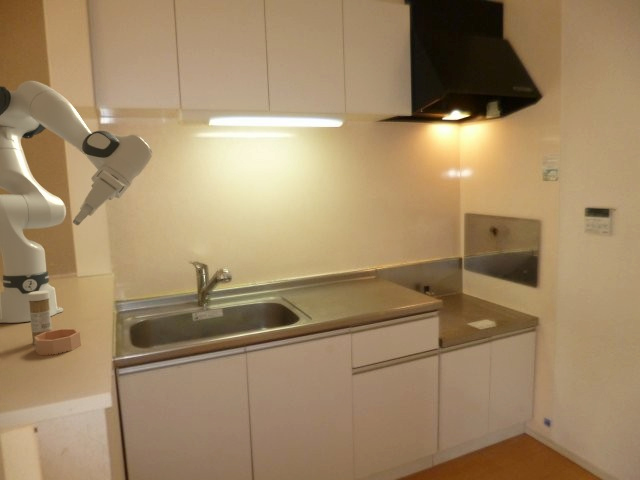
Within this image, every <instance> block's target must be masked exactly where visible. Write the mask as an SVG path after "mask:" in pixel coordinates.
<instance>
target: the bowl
mask: <svg viewBox="0 0 640 480" xmlns="http://www.w3.org/2000/svg"><path fill="white" fill-rule="evenodd" d="M34 342H35V344H34V350H35V352H36V354H37V355H38V356H39V355H41V356H42V355H45V356H49V355H50V356H53V354H55V355H58V353H59V354H62V352H63V353H67V352H66V351H68V352H72V351H73V349H74V350H75V349H77V348H78V347H80V346H81V345H82V344H81V343H82V342H81V331H80V330H78V329H77V328H57V329H55V330H54V329H53V330H51V331H48V332H44V333H42V334H39V335H37V336H35V337H34ZM48 354H49V355H48ZM51 354H52V355H51Z"/></svg>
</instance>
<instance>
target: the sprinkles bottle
mask: <svg viewBox="0 0 640 480" xmlns="http://www.w3.org/2000/svg"><path fill="white" fill-rule="evenodd" d="M28 300H29V304H30V318H31V321H30V327H31V330H30V331H31V334H32V342H31V343H32V345H35V342H34V337H35V336H37V335H39V334H42V333H44V332H48V331H52V318H51V317H52V316H50V308H49V291H45V290H44V291H34V292H30V293H28Z"/></svg>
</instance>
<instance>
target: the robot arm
mask: <svg viewBox="0 0 640 480" xmlns="http://www.w3.org/2000/svg"><path fill="white" fill-rule="evenodd" d="M84 121H85V120H83V119H82V117H81V116H80V114H79V113H78V111H77V110H76V108H75V107H74V106H73V105H72V103H71V102H70V101H69V100H68V99H67V98H66V97H64V96H63V95H62V94H61V93H60V92H58V91H56V90H55V89H53V88H52V87H50V86H49V85H47V84H44V83H42V82H39V81H37V80H27V81H26V80H25V81H23V82H22V83H20V84H19V85H18V86H17V88H16V89H15V90H9V89H7V88H6V87H5V86H1V85H0V189H1V190H3V191H6V192H7V193H8V194H7V193H3V194H2V193H1V194H0V254H1V258H2V259H1V260H2V267H3V275H2V279H1V280H2V287H3V290H2V292H0V323H5V324H6V323H8V324H12V323H13V324H15V323H24V322H25V323H26V322H31V318H30V304H29V300H28V293H30V292H34V291H44V290H45V291H49V308H50V317H52V316H54V315H57V314H59V313H63V312H64V308H63V307H60V306H58V303H57V293H56V289H55V287H53V286H52V285H50V283H49V282H50V274H49V271H47V262H46V251H45V249H44V247H43V246H42V244H40V243H39V242H36V241H34V240H31V239H28V238H27V236H25V234H24V230H30V229H31V230H32V229H46V228H49V227H50V228H52V227H55V226H58V225H61V224H62V223H63V222H64V220H65V219H66V216H67V207H66V204H65V202H64V201H63V200H62V198H60V197H59V196H56V195H55V194H53V193H51V192H49V191H48V190H47V189H45V188H44V187H43V186H41V184H39V182H38V181H37V180H36V179H35V177H34V176H33V173H32V172H31V169H30V166H29V164H28V162H27V158H26V155H25V152H24V149H23V147H22V143H21V141H22V138H23V139H26V140H27V139H32V138H33V137H34V136H36V135H39V134H42V132H43V131H45V130H46V129H47V130H48V131H50V132H52V134H54V135H56V136H58V138H61V139H62V140H64V141H65V142H67V143H68V144H71V145H72V146H73V147H75V148H76V149H77V150H78V151H79V152H81V153H82V154H83V155H85V156H86V158H87V159H88V160H89V161H90V163H91V164H92V165H94V167H95V168H96V169H97V171H96V172H95V173H94V174H93V176H91V180H92V182H93V183H92V184H91V189H90V191H89V192H88V194H87V195H86V197H85V199H84V200H83V203H82V204H81V205H80V208H79V209H80V211H79V212H78V213H77V215H76V216H75V217H74V219H73V220H72V223H73V224H74V225H75V226H80V224H81V223H82V222H83V221H84V220H85V219H87V217H88V216H89V217H90V216H92V215H93V214H95V213H96V211H98V209H99V208H100V207H102V205H104V204H105V203H106V201H108V200H110V201H112V200H113V199H114V198H116V199H120V198H121V197H122V196H123V194H124V193H126V191H127V190H128V189H129V187H130V186H131V185H132V182H133V180H135V178H136V177H137V176H139V175H140V174H141V173H142V172H143V170H145V169H146V167H147V165H148V164H149V162H150V161H151V158H152V156H153V151H152V149H151V147H150V146H149V144H148V143H147V142H146V141H145V140H144V138H142V137H141V136H139V135H138V134H134V133H133V134H129V135H120V134H114V133H110V132H109V131H106V130H96V131H93V132H92V131H90V129H89V128H88V126H87V124H86V123H85V122H84Z"/></svg>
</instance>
